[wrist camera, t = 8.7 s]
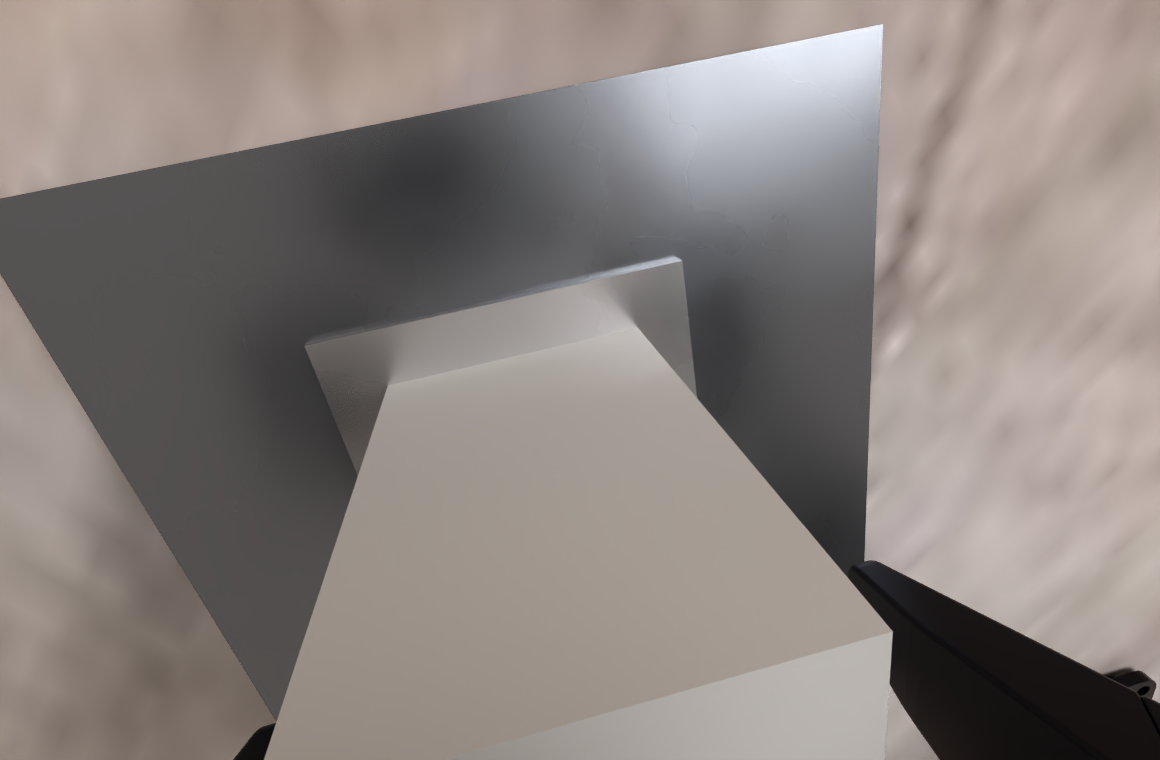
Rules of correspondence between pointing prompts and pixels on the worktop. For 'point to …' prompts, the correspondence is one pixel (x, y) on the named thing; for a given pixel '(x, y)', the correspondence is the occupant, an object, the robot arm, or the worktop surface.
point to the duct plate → (465, 297)
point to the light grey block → (577, 584)
